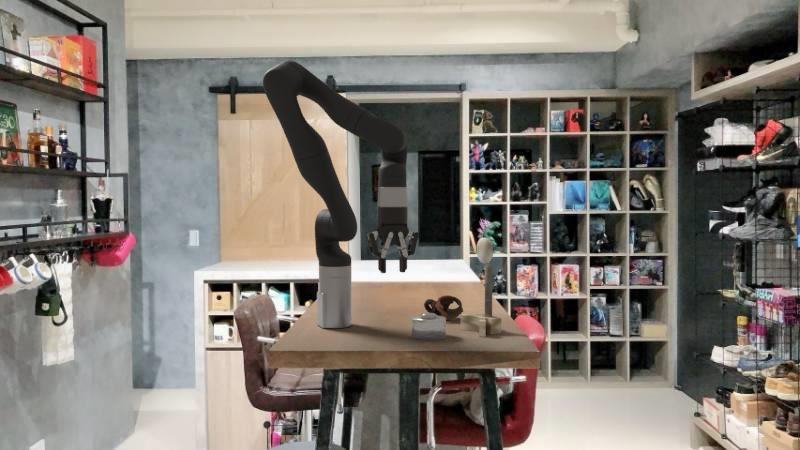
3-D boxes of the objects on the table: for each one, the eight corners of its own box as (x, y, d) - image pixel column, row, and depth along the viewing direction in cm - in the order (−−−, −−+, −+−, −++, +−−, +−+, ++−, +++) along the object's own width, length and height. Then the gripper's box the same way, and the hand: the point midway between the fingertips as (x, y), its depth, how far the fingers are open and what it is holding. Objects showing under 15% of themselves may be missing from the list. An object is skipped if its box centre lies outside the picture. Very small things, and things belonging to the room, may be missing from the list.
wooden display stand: (480, 336, 166) (481, 239, 165) (459, 328, 177) (459, 236, 177) (505, 334, 169) (505, 238, 168) (482, 326, 180) (482, 236, 179)
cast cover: (420, 342, 161) (420, 318, 161) (406, 335, 170) (406, 312, 169) (451, 339, 165) (451, 315, 165) (436, 332, 173) (436, 310, 173)
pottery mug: (462, 318, 196) (467, 297, 192) (455, 337, 188) (460, 316, 184) (424, 307, 198) (429, 286, 194) (416, 325, 190) (421, 304, 186)
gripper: (371, 205, 156) (371, 275, 156) (424, 205, 161) (424, 272, 162) (361, 205, 163) (361, 272, 163) (412, 205, 168) (412, 269, 169)
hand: (392, 272), depth 163 cm, fingers open, 4 cm apart
